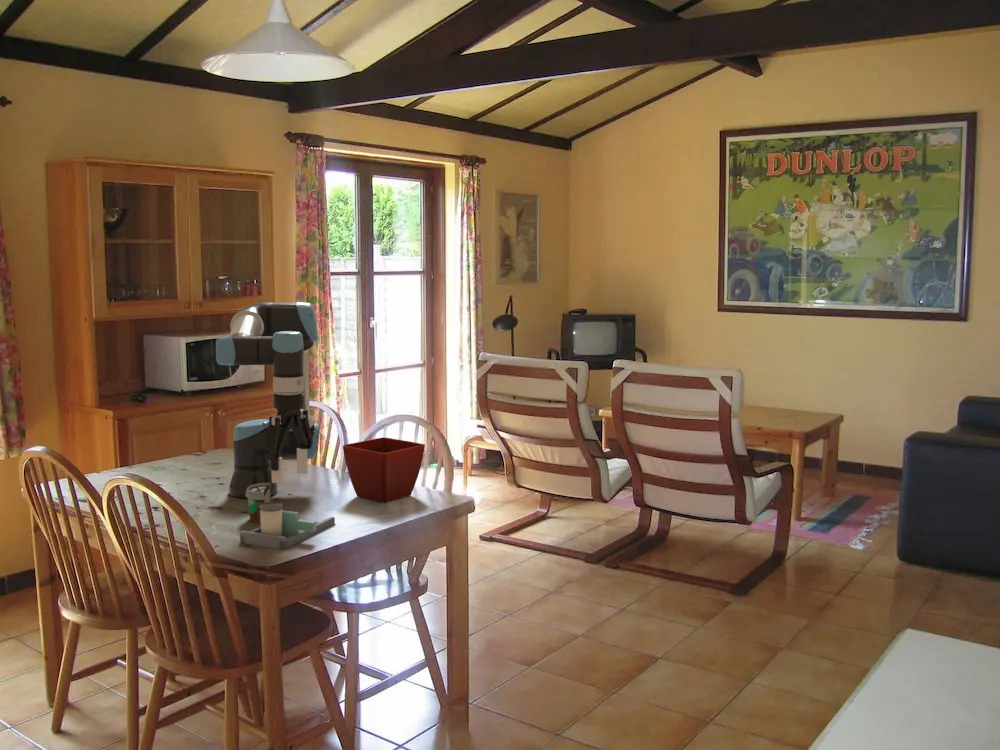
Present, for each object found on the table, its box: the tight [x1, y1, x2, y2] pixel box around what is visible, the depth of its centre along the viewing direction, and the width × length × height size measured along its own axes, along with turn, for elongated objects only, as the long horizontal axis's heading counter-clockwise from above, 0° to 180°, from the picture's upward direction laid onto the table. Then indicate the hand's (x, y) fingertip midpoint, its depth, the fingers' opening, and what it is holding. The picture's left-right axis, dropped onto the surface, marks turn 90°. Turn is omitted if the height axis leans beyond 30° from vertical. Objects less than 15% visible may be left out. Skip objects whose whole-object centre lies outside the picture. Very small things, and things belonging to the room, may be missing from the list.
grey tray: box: [239, 516, 336, 550], centre depth 259 cm, size 14×25×4 cm, turn 158°
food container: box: [245, 483, 271, 524], centre depth 272 cm, size 12×6×10 cm, turn 5°
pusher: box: [282, 509, 317, 538], centre depth 254 cm, size 16×2×7 cm, turn 68°
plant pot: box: [342, 437, 426, 503], centre depth 301 cm, size 19×19×17 cm
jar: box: [260, 501, 283, 536], centre depth 251 cm, size 6×6×10 cm
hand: (290, 477), depth 242 cm, fingers open, 10 cm apart
